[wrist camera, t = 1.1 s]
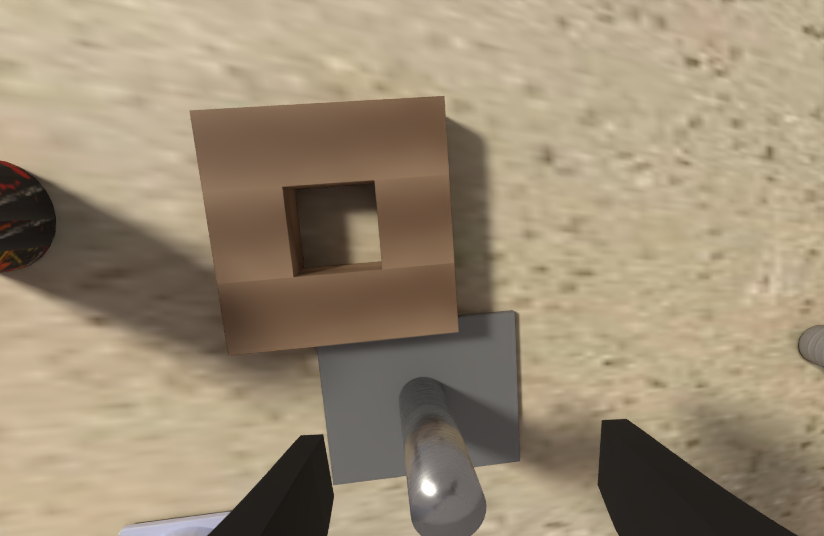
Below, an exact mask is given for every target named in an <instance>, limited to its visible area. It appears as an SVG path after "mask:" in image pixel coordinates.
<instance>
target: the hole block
mask: <svg viewBox="0 0 824 536" xmlns="http://www.w3.org/2000/svg"><path fill="white" fill-rule="evenodd" d="M190 116H191V123H192V129H193V135H194V142H195V148H196V154H197V161H198V167H199V173H200V180H201V186H202V192H203V199H204V205H205V211H206V218H207V224H208V230H209V237H210V243H211V249H212V256H213V262H214V268H215V275H216V281H217V287H218V294H219V300H220V306H221V313H222V319H223V325H224V332H225V338H226V344H227V351H228V356H229V355H239V354H249V353H258V352H268V351H278V350H288V349H297V348H307V347H317V346H327V345H337V344H346V343H356V342H366V341H376V340H385V339H395V338H405V337H415V336H424V335H434V334H444V333H454V332H458V315H457V298H456V282H455V265H454V248H453V232H452V215H451V198H450V182H449V165H448V149H447V132H446V115H445V99H444V96H436V97H418V98H401V99H383V100H366V101H348V102H331V103H313V104H296V105H279V106H261V107H244V108H226V109H209V110H191V111H190ZM363 184H375V192H376V203H377V214H378V226H379V237H380V248H381V259H382V262H370V263H359V264H347V265H336V266H324V267H313V268H304V262H303V253H302V245H301V237H300V229H299V220H298V212H297V204H296V196H295V189H308V188H322V187H335V186H349V185H363Z"/></svg>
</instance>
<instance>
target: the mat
mask: <svg viewBox="0 0 824 536" xmlns="http://www.w3.org/2000/svg"><path fill="white" fill-rule="evenodd" d="M317 352H318V361H319V369H320V377H321V386H322V394H323V402H324V411H325V419H326V427H327V436H328V444H329V452H330V461H331V469H332V477H333V485H338V484H346V483H354V482H362V481H370V480H377V479H385V478H393V477H401V476H406V467H405V458H404V449H403V439H402V430H401V421H400V412H399V402H398V399H399V394H400V392H401V390H402V388H403V387H404V385H405V384H406V383H408V382H409V381H411V380H412V379H415V378H418V377H429V378H433V379H435V380H437V381H438V382H439V383H440V384H441V385H442V386H443V387H444V389H445V391H446V394H447V397H448V399H449V402H450V405H451V408H452V410H453V413H454V416H455V418H456V421H457V424H458V426H459V429H460V432H461V434H462V437H463V440H464V443H465V445H466V448H467V451H468V453H469V456H470V459H471V461H472V464H473V467H479V466H486V465H494V464H502V463H510V462H517V461H520V447H519V420H518V392H517V365H516V337H515V312H514V311H513V310H511V311H501V312H491V313H481V314H471V315H461V316H458V332H454V333H444V334H434V335H424V336H415V337H405V338H395V339H385V340H376V341H366V342H356V343H346V344H337V345H327V346H317Z"/></svg>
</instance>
